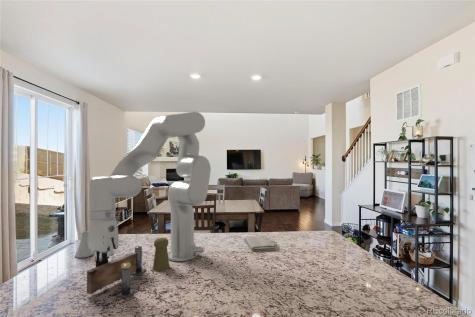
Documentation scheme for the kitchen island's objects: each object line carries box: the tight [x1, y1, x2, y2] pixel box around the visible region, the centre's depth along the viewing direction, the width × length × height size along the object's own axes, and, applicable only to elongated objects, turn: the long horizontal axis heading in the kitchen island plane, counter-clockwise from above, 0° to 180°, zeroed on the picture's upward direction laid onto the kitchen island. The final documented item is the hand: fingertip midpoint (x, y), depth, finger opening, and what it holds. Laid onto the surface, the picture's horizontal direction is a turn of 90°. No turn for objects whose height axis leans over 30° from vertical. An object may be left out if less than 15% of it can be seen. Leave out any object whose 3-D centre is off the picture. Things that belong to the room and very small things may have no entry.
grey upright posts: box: [115, 245, 147, 299], centre depth 83 cm, size 7×19×9 cm, turn 178°
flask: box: [74, 230, 94, 259], centre depth 108 cm, size 7×7×10 cm
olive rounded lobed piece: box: [152, 237, 171, 272], centre depth 95 cm, size 6×6×11 cm
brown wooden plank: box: [86, 252, 137, 295], centre depth 82 cm, size 17×2×6 cm, turn 154°
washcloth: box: [243, 235, 277, 253], centre depth 120 cm, size 12×18×3 cm, turn 11°
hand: (101, 271), depth 82 cm, fingers closed
